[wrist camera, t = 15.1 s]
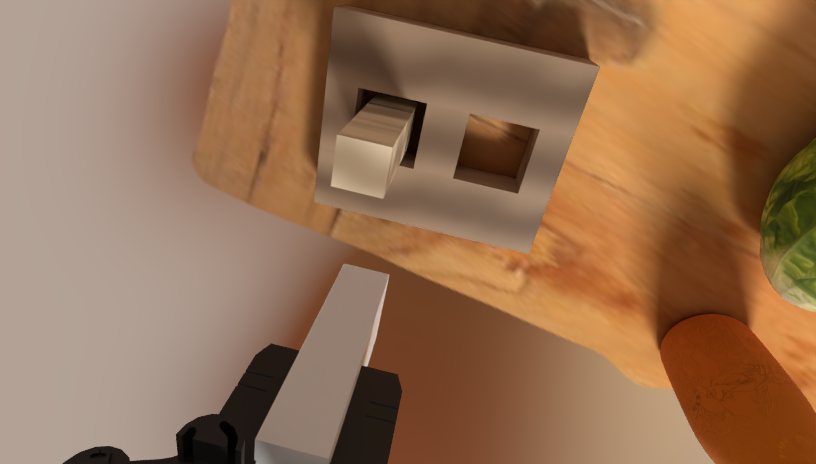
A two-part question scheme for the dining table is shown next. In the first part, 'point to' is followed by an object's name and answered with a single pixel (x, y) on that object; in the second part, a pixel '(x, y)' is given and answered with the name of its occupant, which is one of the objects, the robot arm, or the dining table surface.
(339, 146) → the peg
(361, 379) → the robot arm
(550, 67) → the board
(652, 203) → the dining table surface
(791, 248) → the lettuce
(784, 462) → the wine bottle
